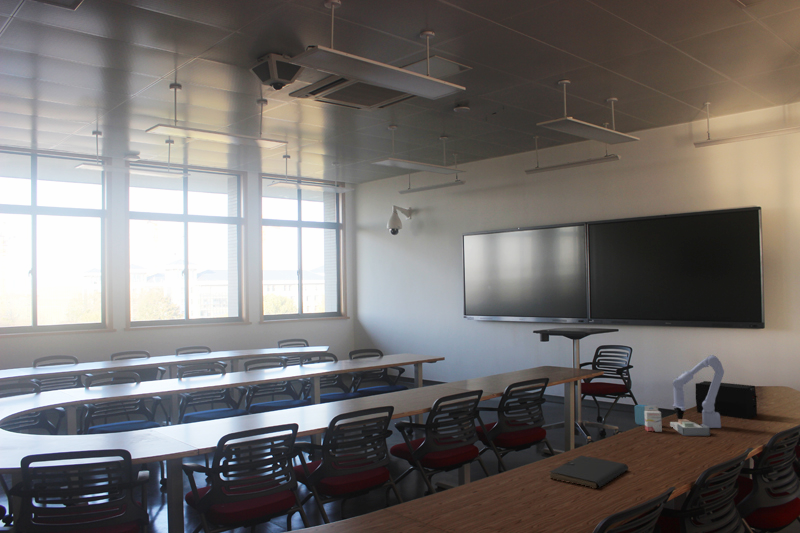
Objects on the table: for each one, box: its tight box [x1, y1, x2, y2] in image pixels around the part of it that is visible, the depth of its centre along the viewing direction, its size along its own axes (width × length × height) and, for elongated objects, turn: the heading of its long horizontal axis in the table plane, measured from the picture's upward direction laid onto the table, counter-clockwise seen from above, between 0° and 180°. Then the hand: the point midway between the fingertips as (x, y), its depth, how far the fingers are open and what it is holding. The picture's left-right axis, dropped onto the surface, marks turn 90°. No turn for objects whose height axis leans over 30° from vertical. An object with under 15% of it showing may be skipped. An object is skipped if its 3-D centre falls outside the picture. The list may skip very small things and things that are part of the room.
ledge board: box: [669, 421, 703, 432], centre depth 345 cm, size 14×14×2 cm
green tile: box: [682, 421, 694, 427], centre depth 342 cm, size 5×5×2 cm
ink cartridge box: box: [644, 405, 663, 433], centre depth 343 cm, size 9×5×15 cm, turn 84°
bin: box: [677, 423, 711, 437], centre depth 333 cm, size 15×9×4 cm, turn 82°
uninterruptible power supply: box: [695, 380, 758, 420], centre depth 379 cm, size 16×34×20 cm, turn 38°
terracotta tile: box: [677, 418, 691, 424], centre depth 348 cm, size 5×5×2 cm
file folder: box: [549, 455, 629, 489], centre depth 266 cm, size 33×4×24 cm
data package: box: [633, 404, 654, 426], centre depth 359 cm, size 12×4×12 cm, turn 39°
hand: (680, 419), depth 355 cm, fingers closed
